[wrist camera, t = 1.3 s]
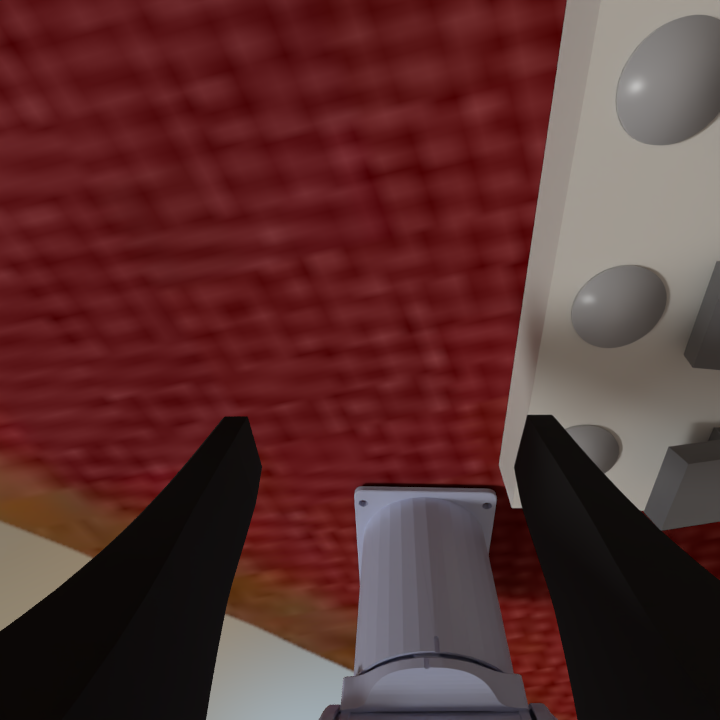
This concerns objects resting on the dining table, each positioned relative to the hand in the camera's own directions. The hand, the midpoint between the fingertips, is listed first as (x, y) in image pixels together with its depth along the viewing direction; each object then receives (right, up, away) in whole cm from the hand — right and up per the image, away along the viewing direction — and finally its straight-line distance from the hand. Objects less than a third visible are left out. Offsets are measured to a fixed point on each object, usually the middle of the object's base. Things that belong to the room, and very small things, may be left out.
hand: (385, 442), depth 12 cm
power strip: (+12, +6, +7) cm, 15 cm away
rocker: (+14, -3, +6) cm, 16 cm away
